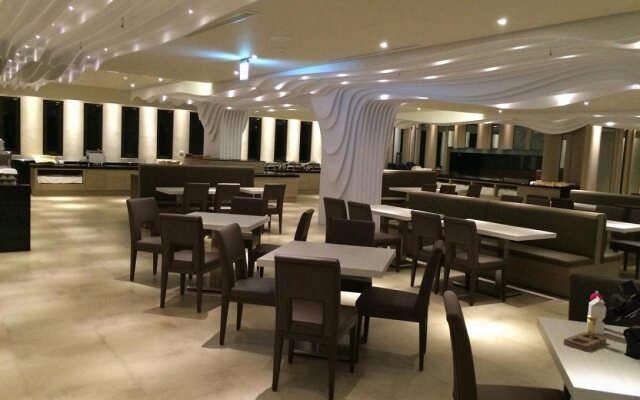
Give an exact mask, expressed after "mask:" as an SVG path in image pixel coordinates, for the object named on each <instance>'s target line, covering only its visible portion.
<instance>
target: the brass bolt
mask: <svg viewBox="0 0 640 400" xmlns="http://www.w3.org/2000/svg"><path fill="white" fill-rule="evenodd" d="M587 318H588V324H587V323H586V338H589V339H592V340H595V335H596V334H595V333H596V324H597V320H598V316H596V315H592V314H588V313H587V316H586V319H587Z"/></svg>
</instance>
